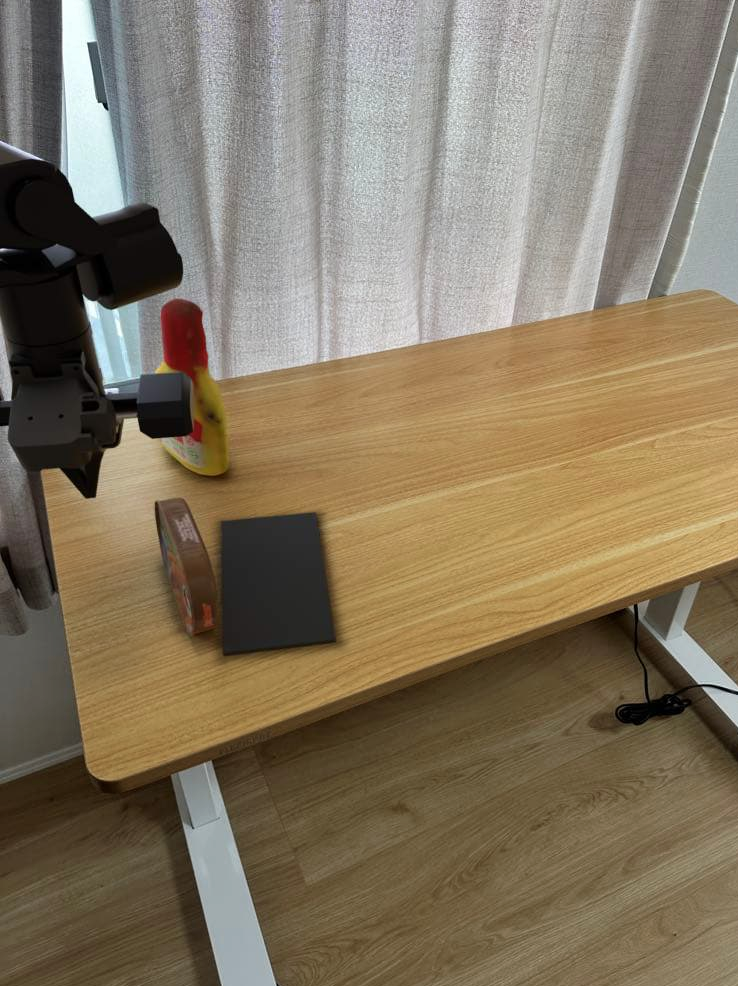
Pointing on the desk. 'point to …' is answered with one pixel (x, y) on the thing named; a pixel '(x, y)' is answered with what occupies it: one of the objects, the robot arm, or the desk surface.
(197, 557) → the tin
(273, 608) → the mat
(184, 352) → the bottle
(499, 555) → the desk surface
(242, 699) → the desk surface
